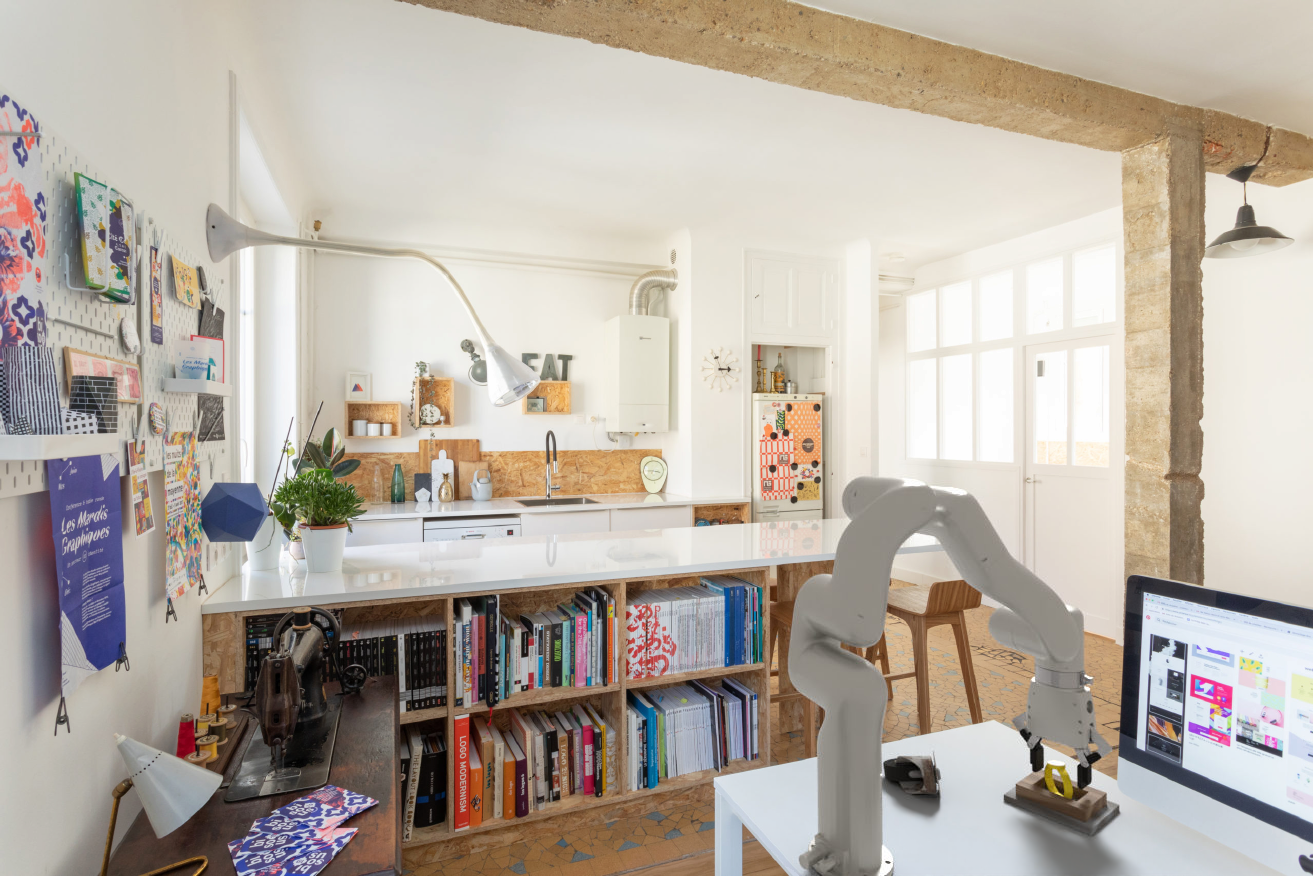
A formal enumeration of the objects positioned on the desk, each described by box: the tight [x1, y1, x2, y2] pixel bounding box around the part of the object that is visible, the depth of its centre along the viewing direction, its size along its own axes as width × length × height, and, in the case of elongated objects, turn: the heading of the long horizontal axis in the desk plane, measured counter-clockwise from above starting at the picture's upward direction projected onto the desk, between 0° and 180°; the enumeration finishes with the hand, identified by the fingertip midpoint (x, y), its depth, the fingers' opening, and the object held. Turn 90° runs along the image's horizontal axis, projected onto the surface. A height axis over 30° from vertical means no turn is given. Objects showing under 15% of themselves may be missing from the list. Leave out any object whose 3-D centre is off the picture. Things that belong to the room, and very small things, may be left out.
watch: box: [1043, 759, 1073, 799], centre depth 120 cm, size 6×3×6 cm, turn 2°
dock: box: [1003, 769, 1120, 837], centre depth 120 cm, size 12×14×3 cm
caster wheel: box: [882, 750, 942, 800], centre depth 128 cm, size 7×11×10 cm
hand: (1060, 777), depth 120 cm, fingers open, 6 cm apart
